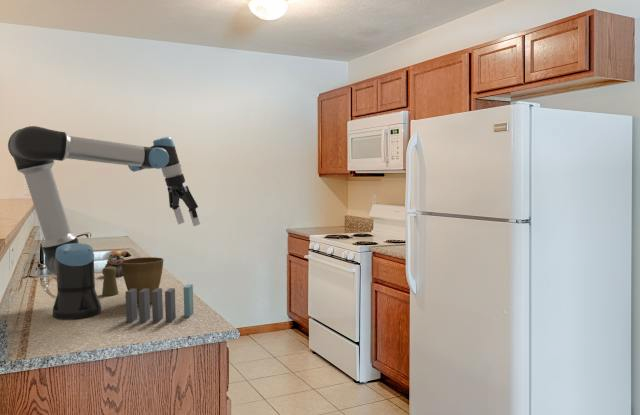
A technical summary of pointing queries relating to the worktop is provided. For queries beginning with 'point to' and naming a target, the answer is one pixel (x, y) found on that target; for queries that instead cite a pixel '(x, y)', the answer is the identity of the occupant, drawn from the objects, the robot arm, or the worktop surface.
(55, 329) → the worktop surface
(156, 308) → the domino
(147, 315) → the domino
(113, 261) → the cupcake
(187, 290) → the domino
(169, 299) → the domino
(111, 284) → the cork
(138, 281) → the plant pot
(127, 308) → the domino
